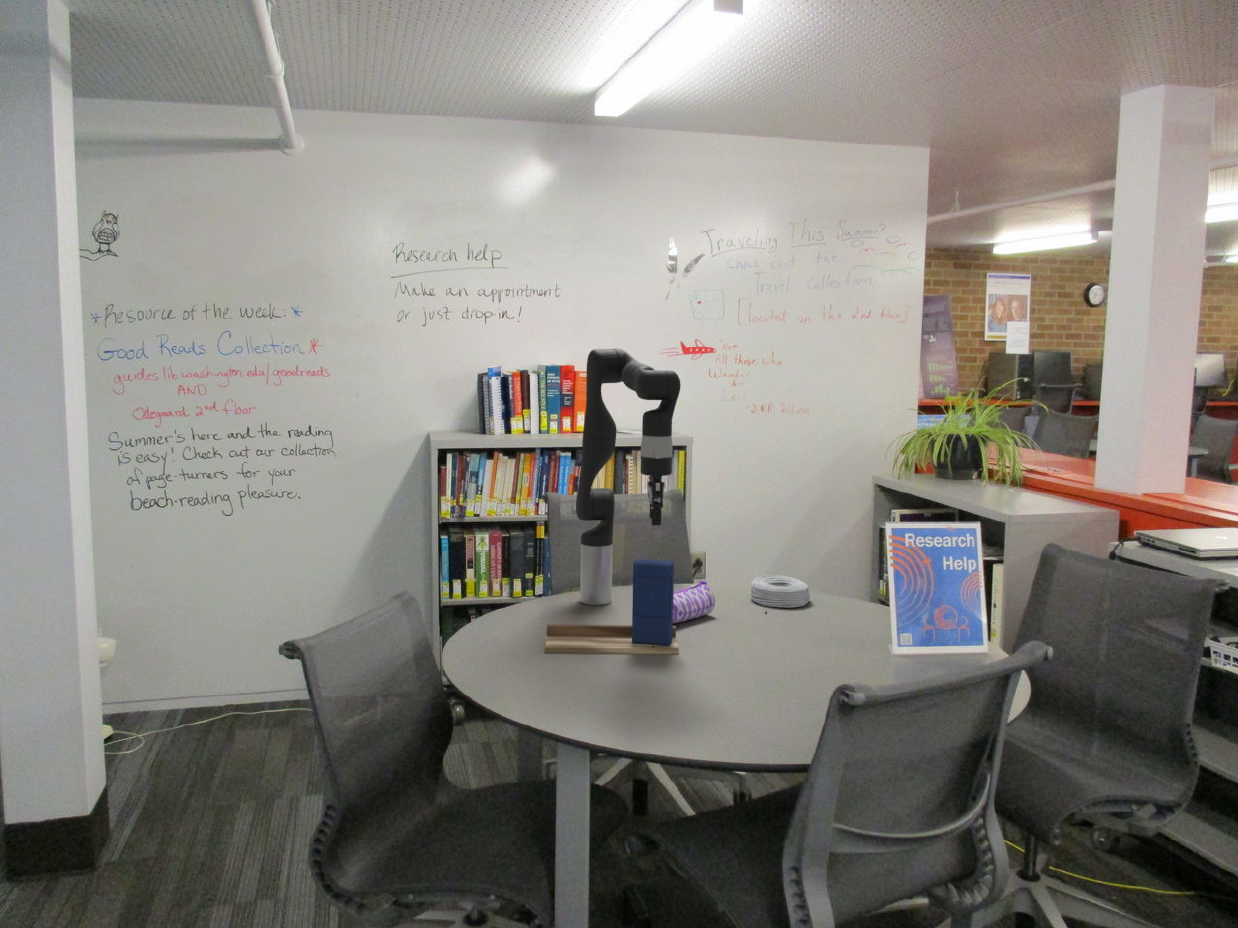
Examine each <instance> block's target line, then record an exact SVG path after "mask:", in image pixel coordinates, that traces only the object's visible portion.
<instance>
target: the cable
mask: <svg viewBox="0 0 1238 928" xmlns="http://www.w3.org/2000/svg"><path fill="white" fill-rule="evenodd" d="M749 592H750V598H751V600H752V601H754V602H755V603H757V604H758V605H761V606H765V607H773V608H789V609H790V608H799V607H803V606H805V605H807V604H808V602H810V598H811V595H810V590H809V586H808V585H807V583H805V582H803V581H802V580H799V579H798V578H794V577H790V576H786V575H778V574H777V575H776V574H775V575H772V574H767V575H765V574H764V575H761V576H757V577H756V578H754V579H753V581H752V582H751V583H750V591H749Z"/></svg>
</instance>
